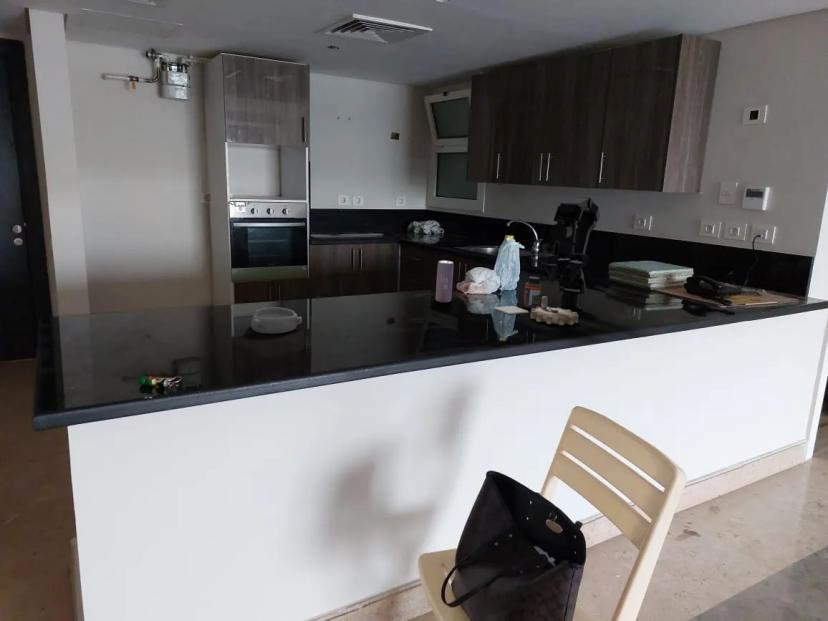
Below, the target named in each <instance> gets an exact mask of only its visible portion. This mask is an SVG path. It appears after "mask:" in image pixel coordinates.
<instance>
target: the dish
mask: <svg viewBox="0 0 828 621" xmlns="http://www.w3.org/2000/svg"><path fill="white" fill-rule="evenodd" d="M302 322H303V319H302V316H298V313H296V312H295V311H294V310H292V309H289V308H284V307H276V306H275V307H263V308H259V309H256V310H255V311H254V314H253V316H252V318H251V323H250V324H251V328H252V330H253V331H254V332H256V333H260V334H272V335H273V334H282V333H287V332H291V331H294V330H295V329H297V326H298V325H301V323H302Z"/></svg>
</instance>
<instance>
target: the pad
mask: <svg viewBox="0 0 828 621" xmlns="http://www.w3.org/2000/svg"><path fill="white" fill-rule="evenodd" d="M493 309H494V310H496V311H499V312H500V313H504V314H506V315H515V314H518V315H520V314H529V310H527V309H523V308H520V307H517V306H514V305H508V306H506V305H505V306H494V307H493Z"/></svg>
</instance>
